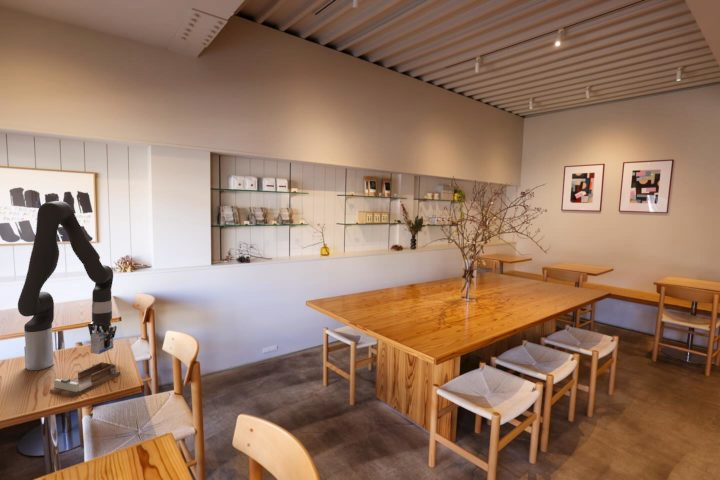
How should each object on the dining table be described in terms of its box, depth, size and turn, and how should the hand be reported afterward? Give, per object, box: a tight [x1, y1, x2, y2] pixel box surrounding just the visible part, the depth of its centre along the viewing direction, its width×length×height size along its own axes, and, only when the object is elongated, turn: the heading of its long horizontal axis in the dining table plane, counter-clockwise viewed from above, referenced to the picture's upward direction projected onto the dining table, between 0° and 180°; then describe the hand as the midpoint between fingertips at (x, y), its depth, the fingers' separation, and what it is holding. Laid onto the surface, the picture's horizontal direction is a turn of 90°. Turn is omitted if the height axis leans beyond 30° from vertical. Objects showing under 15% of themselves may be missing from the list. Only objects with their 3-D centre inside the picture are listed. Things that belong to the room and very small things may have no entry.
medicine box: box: [90, 332, 114, 355], centre depth 170 cm, size 8×4×9 cm, turn 170°
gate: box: [53, 377, 79, 392], centre depth 145 cm, size 11×2×4 cm, turn 75°
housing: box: [49, 361, 121, 398], centre depth 153 cm, size 12×20×4 cm, turn 165°
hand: (102, 346), depth 170 cm, fingers closed on medicine box, 4 cm apart
